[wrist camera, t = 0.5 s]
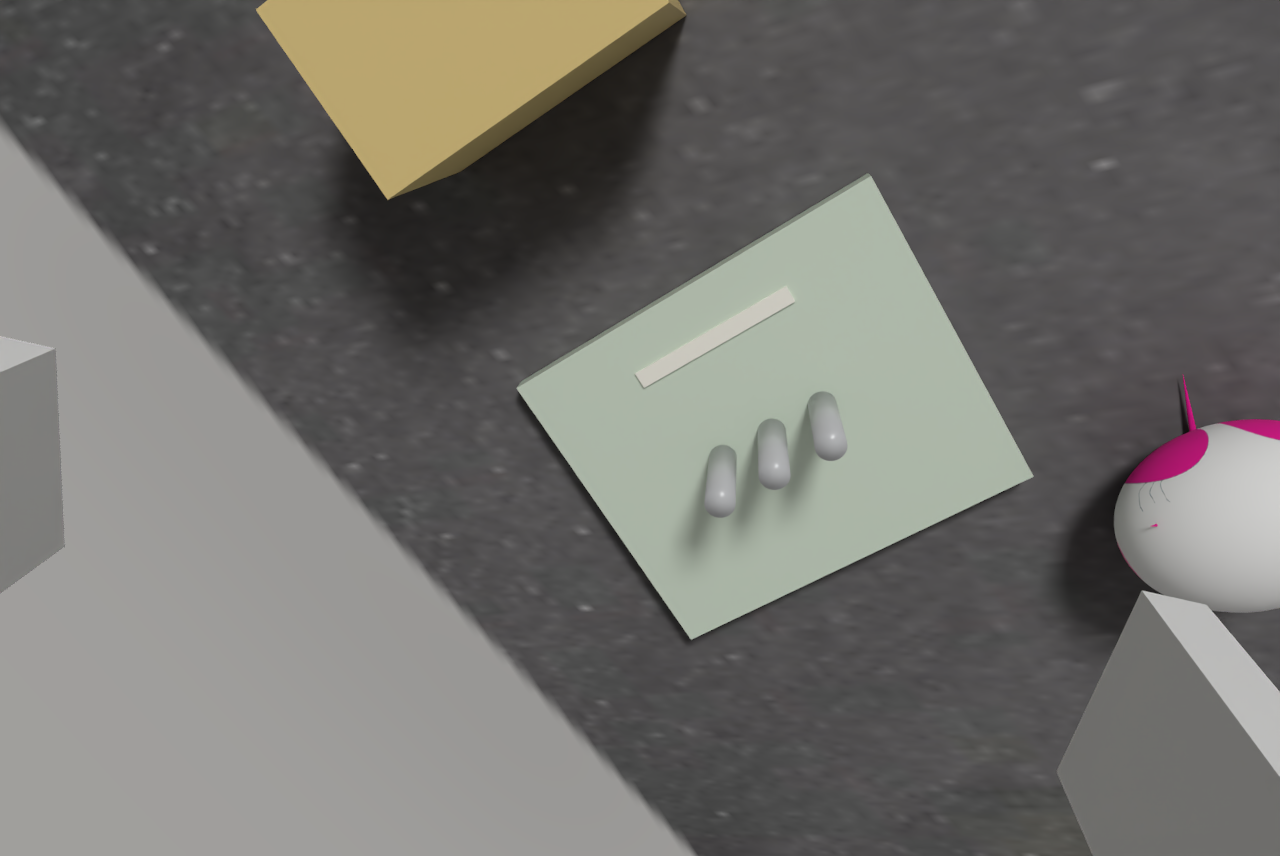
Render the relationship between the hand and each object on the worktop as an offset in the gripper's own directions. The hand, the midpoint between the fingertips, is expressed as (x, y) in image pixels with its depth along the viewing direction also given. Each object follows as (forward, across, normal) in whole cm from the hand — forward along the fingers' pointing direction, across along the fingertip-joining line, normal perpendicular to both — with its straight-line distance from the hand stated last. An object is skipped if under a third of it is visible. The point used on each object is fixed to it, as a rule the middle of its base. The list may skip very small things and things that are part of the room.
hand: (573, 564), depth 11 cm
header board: (+22, +5, -6) cm, 23 cm away
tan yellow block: (+22, -6, +6) cm, 24 cm away
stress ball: (+22, +19, -4) cm, 30 cm away
